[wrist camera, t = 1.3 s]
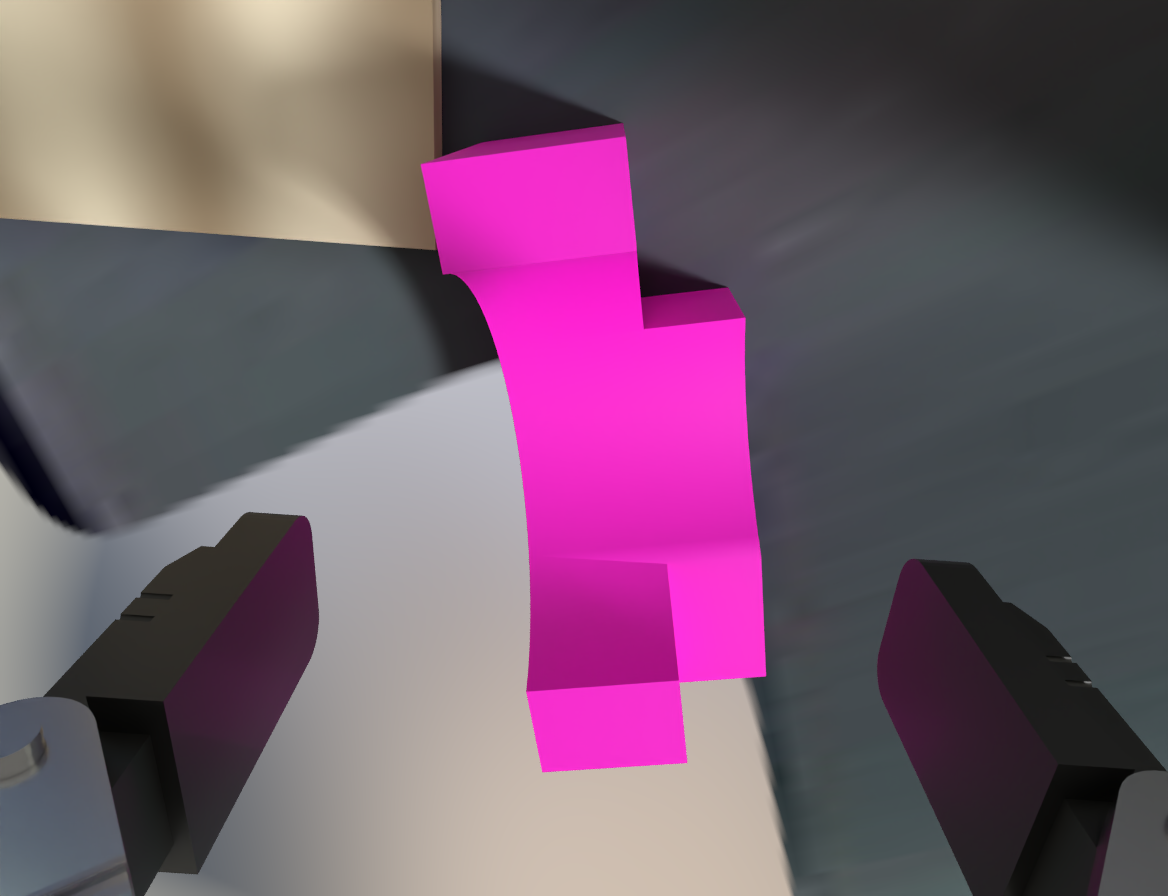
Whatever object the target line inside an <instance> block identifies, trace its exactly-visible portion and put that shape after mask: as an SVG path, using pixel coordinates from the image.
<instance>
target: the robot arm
mask: <svg viewBox="0 0 1168 896" xmlns="http://www.w3.org/2000/svg"><path fill="white" fill-rule="evenodd" d="M318 624H319V609H318V598H317V587H316V575H315V564H314V553H313V542H312V532H311V527H310V523H309V521H308V519H307V518H306V517H305V516H298V515H282V514H268V513H253V512H248V513H245V514H244V515H243V516H241V518H240V519H239V520H238V521H237V522H236V523H235V525H233V527H232V528H231V529H230V530H229V531H228V532H227V534H226V535H225V536H224V537H223V538H222V539H221V540H220V542H219V543H218V544H217V545H216V546H215V547H206V546H201V547H199V548H197V549H195V550H194V551H192V552H190V553H188V554H187V555H185V556H183V557H181V558H180V559H178V560H176V561H174V562H173V563H171V564H169V565H167V566H166V567H164V568H163V569H162V570H161V572H160V573H159V574H158V575H157V576H156V577H155V578H154V579H153V580H152V581H151V582H150V583H149V584H148V585H147V586H146V588H145V589H144V590H143V591H142V592H141V597H140V598H135V600H133V601H132V602H131V604H130V605H129V606H128V607H127V608H126V609H125V610H124V611H123V612H122V613H121V618H120V620H115V621H114V622H113V623H112V624H111V625H110V626H109V627H108V628H107V629H106V630H105V631H104V632H103V634H101V636H100V637H99V638H98V639H97V640H96V641H95V642H94V643H93V644H92V645H91V646H90V647H89V648H88V650H87V651H86V652H85V653H84V654H83V655H82V656H81V657H80V658H79V659H78V660H77V661H76V662H75V663H74V664H73V665H72V667H71V668H70V669H69V670H68V671H67V672H66V673H65V674H64V675H63V676H62V677H61V678H60V679H59V680H58V682H57V683H56V684H55V685H54V686H53V687H52V688H51V689H50V690H49V691H48V692H47V693H46V694H45V695H44V696H43V697H36V698H29V699H23V700H18V701H14V702H10V703H6V704H3V705H0V896H144V895H145V893H146V892H147V890H148V888H149V887H150V885H151V883H152V881H153V879H154V878H155V876H156V874H157V873H158V872H171V873H185V874H198V873H199V871H200V869H201V867H202V865H203V864H204V862H205V860H206V858H207V856H208V854H209V852H210V850H211V848H212V846H213V844H214V842H215V841H216V839H217V837H218V835H219V833H220V831H221V829H222V827H223V825H224V823H225V821H226V819H227V818H228V816H229V814H230V812H231V810H232V808H233V806H234V804H235V802H236V800H237V798H238V797H239V795H240V793H241V791H242V789H243V787H244V785H245V783H246V781H247V779H248V778H249V776H250V774H251V772H252V770H253V768H254V766H255V764H256V762H257V760H258V758H259V757H260V754H261V753H262V751H263V749H264V747H265V745H266V743H267V741H268V739H269V737H270V735H271V734H272V732H273V730H274V728H275V726H276V724H277V722H278V720H279V718H280V716H281V714H282V713H283V711H284V709H285V707H286V705H287V703H288V701H289V699H290V697H291V695H292V693H293V692H294V690H295V688H296V686H297V684H298V682H299V680H300V678H301V676H302V674H303V672H304V671H305V669H306V667H307V665H308V663H309V661H310V659H311V656H312V654H313V651H314V647H315V643H316V639H317V634H318ZM877 675H878V685H879V690H880V694H881V697H882V700H883V702H884V704H885V707H886V709H887V711H888V713H889V715H890V717H891V720H892V722H893V724H894V726H895V728H896V730H897V732H898V735H899V737H900V739H901V741H902V743H903V745H904V748H905V750H906V752H907V754H908V756H909V758H910V761H911V763H912V765H913V767H914V769H915V771H916V773H917V776H918V778H919V780H920V782H921V784H922V786H923V789H924V791H925V793H926V795H927V797H928V799H929V802H930V804H931V806H932V808H933V810H934V812H935V815H936V817H937V819H938V821H939V823H940V825H941V827H942V830H943V832H944V834H945V836H946V838H947V840H948V843H949V845H950V847H951V849H952V851H953V853H954V856H955V858H956V860H957V862H958V864H959V866H960V869H961V871H962V873H963V875H964V877H965V879H966V881H967V884H968V886H969V888H970V890H971V892H972V894H973V896H1168V772H1167V771H1166V770H1165V768H1164V767H1163V766H1162V765H1161V764H1160V762H1159V761H1158V760H1157V759H1156V758H1155V757H1154V755H1153V754H1152V753H1151V752H1150V751H1149V749H1148V748H1147V747H1146V746H1145V745H1144V743H1143V742H1142V741H1141V740H1140V739H1139V737H1138V736H1137V735H1136V734H1135V733H1134V731H1133V730H1132V729H1131V728H1130V727H1129V725H1128V724H1127V723H1126V722H1125V721H1124V719H1123V718H1122V717H1121V716H1120V715H1119V713H1118V712H1117V711H1116V710H1115V709H1114V708H1113V706H1112V705H1111V704H1110V703H1109V702H1108V700H1107V699H1106V698H1105V697H1104V696H1103V694H1102V693H1101V692H1100V691H1099V690H1098V688H1092V685H1091V683H1092V681H1091V680H1090V679H1089V678H1088V676H1087V675H1086V674H1085V673H1084V672H1083V670H1082V669H1081V668H1080V667H1079V666H1078V664H1077V663H1072V662H1071V656H1070V655H1069V654H1068V653H1067V651H1066V650H1065V649H1064V648H1063V647H1062V645H1061V644H1060V643H1059V642H1058V641H1057V639H1056V638H1055V637H1054V636H1053V635H1052V633H1051V632H1050V631H1049V630H1048V629H1047V628H1046V627H1045V626H1043V625H1042V624H1040V623H1039V622H1038V621H1036V620H1035V619H1033V618H1032V617H1030V616H1029V615H1028V614H1026V613H1025V612H1023V611H1022V610H1021V609H1019V608H1018V607H1016V606H1015V605H1013V604H1012V603H1007V602H1002V600H1001V599H1000V598H999V596H998V595H997V594H996V593H995V591H994V590H993V589H992V588H991V586H990V585H989V584H988V583H987V581H986V580H985V579H984V578H983V576H982V575H981V574H980V572H979V571H978V570H977V569H976V568H975V567H974V566H973V565H972V564H970V563H966V562H951V561H937V560H922V559H911V560H909V561H907V562H906V563H905V565H904V566H903V568H902V571H901V573H900V576H899V580H898V584H897V587H896V591H895V595H894V598H893V602H892V606H891V609H890V613H889V617H888V620H887V624H886V628H885V631H884V635H883V639H882V642H881V646H880V650H879V654H878V664H877Z"/></svg>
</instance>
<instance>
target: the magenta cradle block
mask: <svg viewBox="0 0 1168 896" xmlns="http://www.w3.org/2000/svg"><path fill="white" fill-rule="evenodd" d="M421 168H422V173H423V178H424V183H425V188H426V193H427V198H428V203H429V208H430V213H431V218H432V223H433V228H434V233H435V238H436V243H437V248H438V253H439V258H440V263H441V268H442V273H443V274H453V275H456V276H458V277H459V278H461V279H462V280H463V281H464V282H465V283H466V284H467V286H468V287H469V288H470V290H471V291H472V293H473V294H474V296H475V297H476V299H477V301H478V303H479V305H480V307H481V309H482V311H483V314H484V316H485V318H486V320H487V323H488V326H489V328H490V331H491V334H492V337H493V340H494V343H495V346H496V349H497V352H498V356H499V359H500V363H501V367H502V370H503V374H504V378H505V382H506V387H507V391H508V395H509V400H510V405H511V410H512V415H513V420H514V426H515V432H516V437H517V444H518V450H519V457H520V464H521V471H522V479H523V488H524V496H525V507H526V518H527V531H528V546H529V565H530V600H531V601H530V605H531V606H530V607H531V608H530V611H531V613H530V614H531V616H530V617H531V618H530V651H529V668H528V679H527V690H526V693H527V698H528V703H529V708H530V713H531V717H532V723H533V728H534V732H535V737H536V743H537V748H538V753H539V757H540V763H541V767H542V772H554V771H569V770H584V769H601V768H616V767H631V766H648V765H662V764H678V763H687V755H686V745H685V735H684V725H683V715H682V705H681V695H680V685H679V683H680V682H693V681H708V680H721V679H735V678H749V677H762V676H766V666H765V642H764V618H763V594H762V569H761V553H760V546H759V539H758V531H757V523H756V516H755V507H754V498H753V489H752V479H751V469H750V458H749V445H748V432H747V416H746V395H745V316H744V314H743V313H742V311H741V309H740V308H739V306H738V304H737V302H736V301H735V299H734V297H733V295H732V294H731V292H730V290H729V288H728V287H727V288H719V289H710V290H701V291H693V292H684V293H676V294H667V295H659V296H650V297H642V298H641V295H640V284H639V273H638V262H637V248H636V237H635V227H634V217H633V207H632V197H631V187H630V176H629V166H628V156H627V146H626V136H625V131H624V126H623V123H620V124H612V125H605V126H598V127H590V128H583V129H576V130H568V131H561V132H554V133H546V134H539V135H532V136H524V137H517V138H510V139H502V140H495V141H488V142H482V143H479V144H476V145H474V146H471V147H468V148H465V149H462V150H459V151H457V152H454V153H451V154H448V155H445V156H442V157H439V158H437V159H434V160H431V161H428V162H425V163H422V164H421Z"/></svg>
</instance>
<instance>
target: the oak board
mask: <svg viewBox="0 0 1168 896" xmlns="http://www.w3.org/2000/svg"><path fill="white" fill-rule="evenodd" d="M439 157H442V77H441V0H0V218H9V219H22V220H36V221H49V222H63V223H76V224H90V225H103V226H117V227H130V228H144V229H157V230H171V231H184V232H198V233H211V234H224V235H238V236H251V237H265V238H278V239H292V240H305V241H319V242H332V243H346V244H359V245H373V246H386V247H400V248H413V249H427V250H436V249H437V243H436V238H435V233H434V228H433V223H432V218H431V213H430V208H429V203H428V198H427V193H426V188H425V183H424V178H423V173H422V168H421V164H422V163H425V162H428V161H431V160H434V159H437V158H439Z"/></svg>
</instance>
